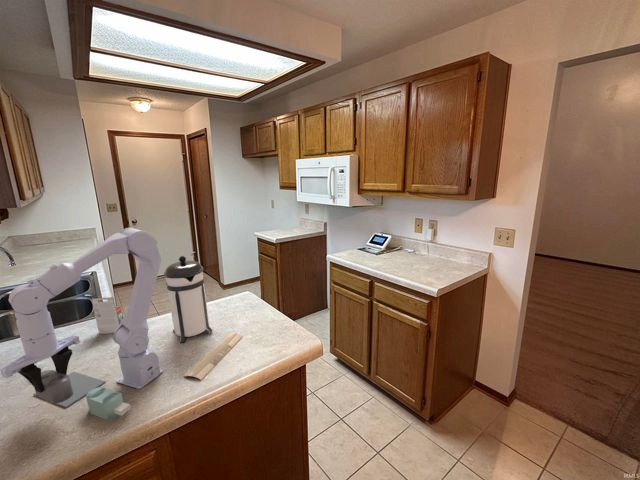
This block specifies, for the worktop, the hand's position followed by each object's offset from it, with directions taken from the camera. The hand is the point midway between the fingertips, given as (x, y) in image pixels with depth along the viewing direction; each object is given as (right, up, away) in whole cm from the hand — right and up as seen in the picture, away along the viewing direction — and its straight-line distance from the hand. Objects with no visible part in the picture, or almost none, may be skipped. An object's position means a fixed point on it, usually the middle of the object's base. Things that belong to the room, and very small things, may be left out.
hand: (51, 384), depth 73 cm
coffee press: (+17, 0, +40) cm, 43 cm away
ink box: (-14, 0, +42) cm, 44 cm away
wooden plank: (+32, -3, +25) cm, 41 cm away
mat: (-5, -7, +11) cm, 14 cm away
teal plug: (+12, -8, +3) cm, 15 cm away
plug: (-1, -2, +1) cm, 3 cm away
